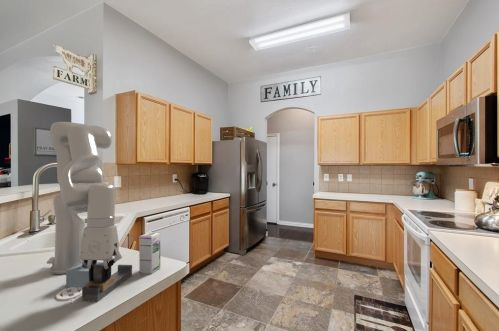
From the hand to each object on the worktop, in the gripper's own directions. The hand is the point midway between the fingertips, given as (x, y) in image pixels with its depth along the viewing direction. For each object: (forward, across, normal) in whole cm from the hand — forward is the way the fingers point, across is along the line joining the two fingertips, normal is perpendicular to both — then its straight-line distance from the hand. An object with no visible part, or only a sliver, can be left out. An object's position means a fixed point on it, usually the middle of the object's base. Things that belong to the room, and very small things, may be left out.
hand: (100, 279), depth 74 cm
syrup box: (+5, +7, +19) cm, 21 cm away
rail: (+5, 0, +5) cm, 7 cm away
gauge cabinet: (+5, -10, +7) cm, 13 cm away
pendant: (+5, -8, -1) cm, 10 cm away
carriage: (+2, 0, 0) cm, 2 cm away
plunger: (-1, -10, +7) cm, 12 cm away
